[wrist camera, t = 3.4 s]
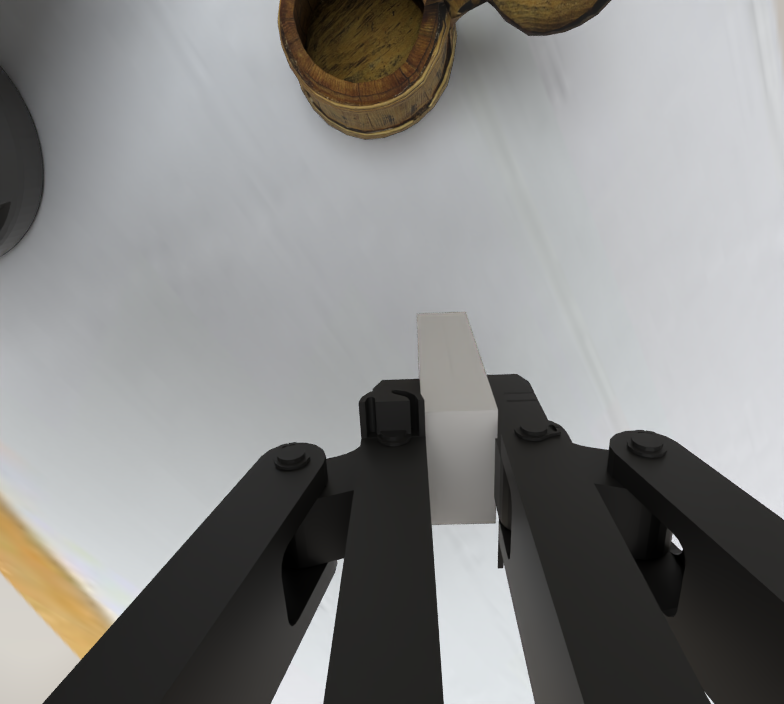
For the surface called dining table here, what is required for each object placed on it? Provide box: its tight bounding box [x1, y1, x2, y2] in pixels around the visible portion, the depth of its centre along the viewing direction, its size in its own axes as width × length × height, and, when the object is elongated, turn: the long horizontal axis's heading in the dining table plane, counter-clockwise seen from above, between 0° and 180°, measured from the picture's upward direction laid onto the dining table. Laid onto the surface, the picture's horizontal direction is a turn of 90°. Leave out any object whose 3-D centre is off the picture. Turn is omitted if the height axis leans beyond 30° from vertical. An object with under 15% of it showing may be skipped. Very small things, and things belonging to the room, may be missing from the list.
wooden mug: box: [278, 0, 611, 140], centre depth 23 cm, size 9×14×18 cm, turn 105°
